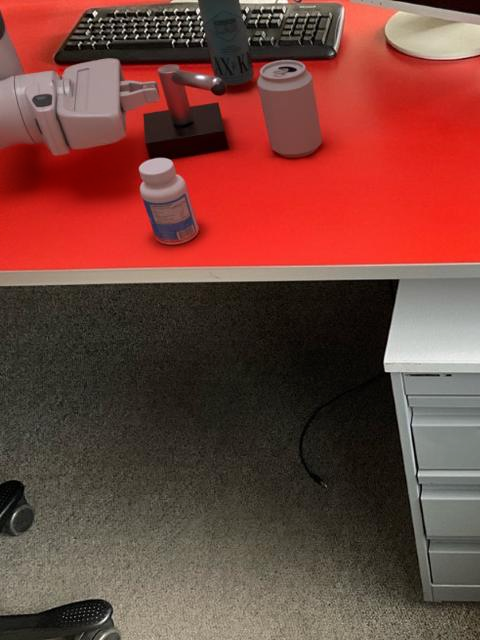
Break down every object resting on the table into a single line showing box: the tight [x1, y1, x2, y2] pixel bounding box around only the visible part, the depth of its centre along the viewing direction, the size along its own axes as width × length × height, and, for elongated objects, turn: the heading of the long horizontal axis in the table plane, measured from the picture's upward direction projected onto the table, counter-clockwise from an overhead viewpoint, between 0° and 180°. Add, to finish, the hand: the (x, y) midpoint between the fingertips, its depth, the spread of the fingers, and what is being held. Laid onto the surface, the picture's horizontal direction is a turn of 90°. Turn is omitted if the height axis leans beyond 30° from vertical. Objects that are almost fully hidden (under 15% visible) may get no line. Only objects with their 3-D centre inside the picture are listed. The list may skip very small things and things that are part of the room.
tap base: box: [142, 102, 230, 160], centre depth 131 cm, size 11×10×3 cm
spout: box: [157, 64, 228, 125], centre depth 126 cm, size 3×11×8 cm, turn 66°
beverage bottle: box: [197, 0, 255, 86], centre depth 140 cm, size 6×7×20 cm
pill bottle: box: [138, 158, 200, 246], centre depth 110 cm, size 6×5×10 cm
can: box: [256, 59, 323, 158], centre depth 126 cm, size 8×8×12 cm
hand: (158, 91), depth 122 cm, fingers closed
